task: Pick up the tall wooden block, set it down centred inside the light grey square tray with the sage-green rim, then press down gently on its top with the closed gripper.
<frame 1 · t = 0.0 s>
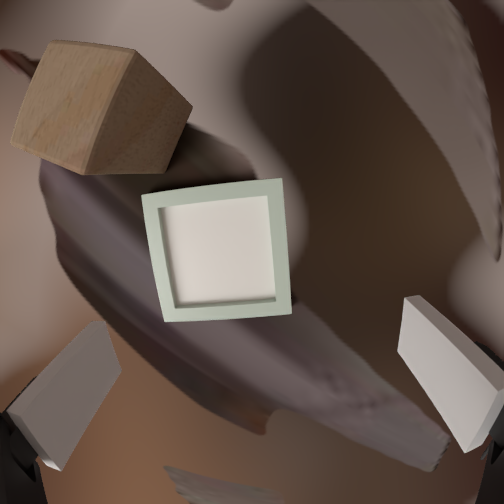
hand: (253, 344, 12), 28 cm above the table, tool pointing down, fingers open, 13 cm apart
square tray: (219, 251, 40), on the table
wooden block: (148, 129, 36), on the table
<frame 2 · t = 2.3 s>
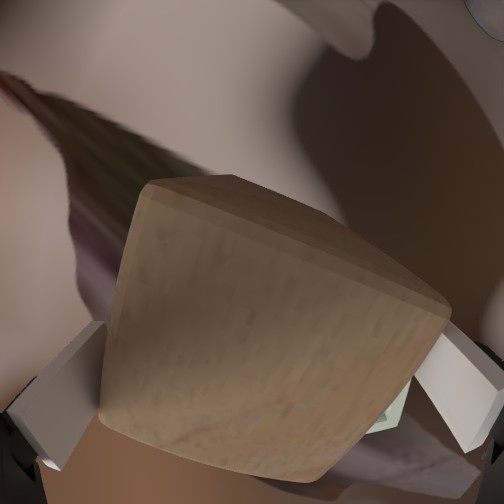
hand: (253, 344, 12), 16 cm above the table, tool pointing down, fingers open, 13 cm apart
square tray: (338, 383, 32), on the table
wooden block: (257, 242, 28), on the table
pillar candle: (486, 14, 18), on the table
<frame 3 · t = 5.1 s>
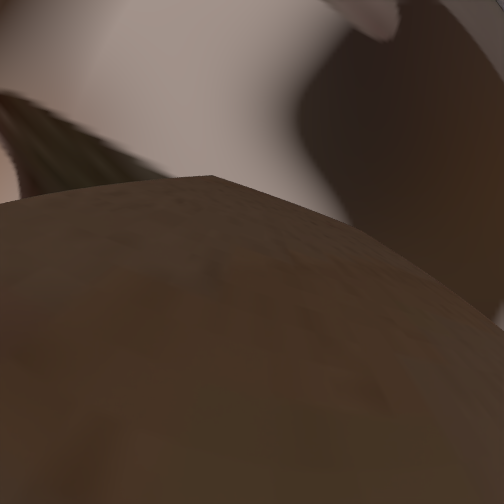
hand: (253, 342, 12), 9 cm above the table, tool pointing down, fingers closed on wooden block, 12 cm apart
wooden block: (258, 277, 18), point 2 cm above the table, touching gripper, hand
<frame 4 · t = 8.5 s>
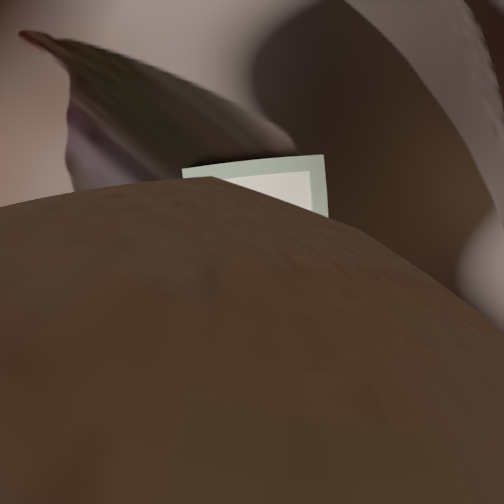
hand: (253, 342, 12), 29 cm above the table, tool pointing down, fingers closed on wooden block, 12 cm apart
square tray: (259, 227, 40), on the table
wooden block: (258, 278, 18), point 22 cm above the table, touching gripper, hand
when the fingers open (8 cm above the table, at t = 11.9 s): wooden block stays where it is, resting on square tray.
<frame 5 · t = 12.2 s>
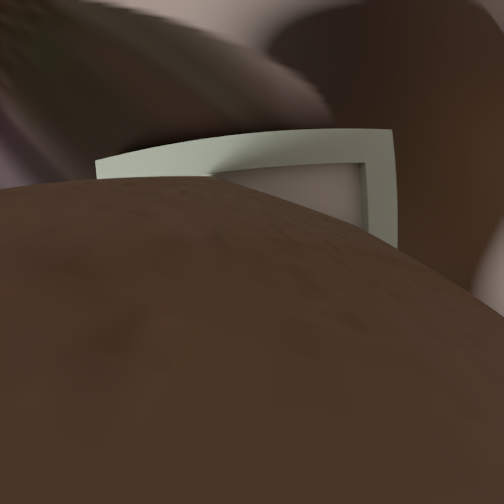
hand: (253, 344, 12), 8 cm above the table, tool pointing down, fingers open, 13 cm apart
square tray: (255, 277, 20), on the table
wooden block: (258, 274, 19), point 1 cm above the table, touching square tray
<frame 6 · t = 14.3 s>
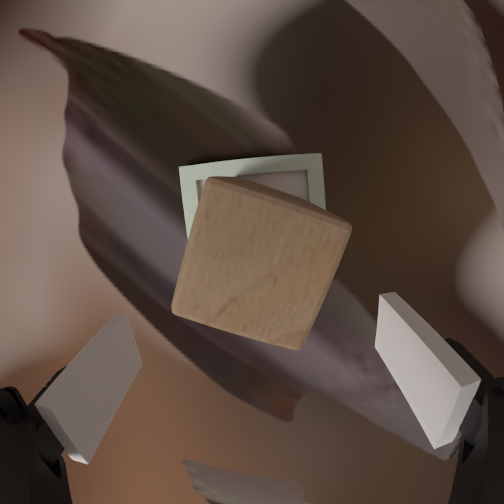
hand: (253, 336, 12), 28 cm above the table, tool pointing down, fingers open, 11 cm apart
square tray: (256, 226, 39), on the table
wooden block: (258, 223, 38), point 1 cm above the table, touching square tray
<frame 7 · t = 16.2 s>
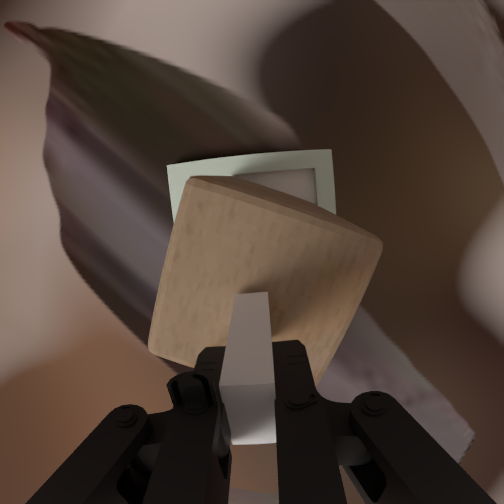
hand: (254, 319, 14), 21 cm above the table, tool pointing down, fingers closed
square tray: (256, 233, 34), on the table
wooden block: (258, 230, 33), point 1 cm above the table, touching gripper, square tray
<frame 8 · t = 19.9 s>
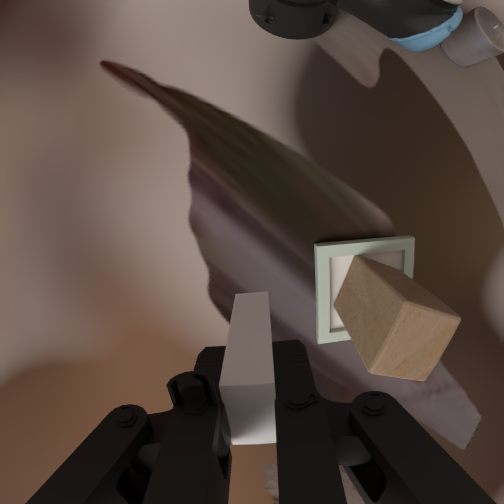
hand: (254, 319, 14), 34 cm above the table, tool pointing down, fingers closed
square tray: (364, 288, 50), on the table
wooden block: (366, 287, 49), point 1 cm above the table, touching square tray
pillar candle: (455, 48, 37), on the table
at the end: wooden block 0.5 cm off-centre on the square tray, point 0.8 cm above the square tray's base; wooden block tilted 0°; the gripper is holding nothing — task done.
